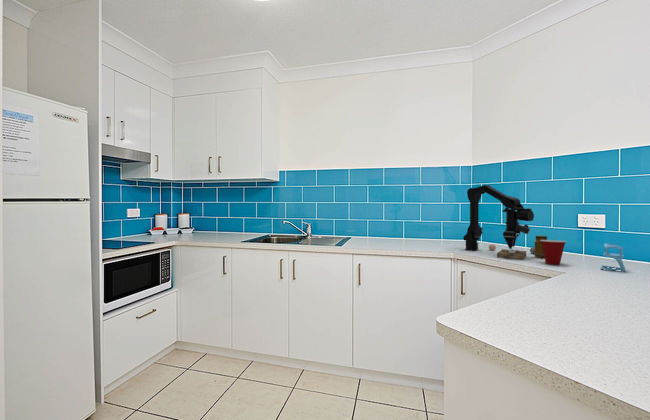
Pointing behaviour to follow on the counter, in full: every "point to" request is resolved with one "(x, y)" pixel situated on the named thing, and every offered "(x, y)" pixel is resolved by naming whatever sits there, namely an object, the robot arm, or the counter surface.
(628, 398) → the counter surface
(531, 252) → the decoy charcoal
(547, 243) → the plastic cup
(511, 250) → the steel ball
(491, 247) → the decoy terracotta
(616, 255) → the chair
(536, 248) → the condiment
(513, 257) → the brown recessed board
